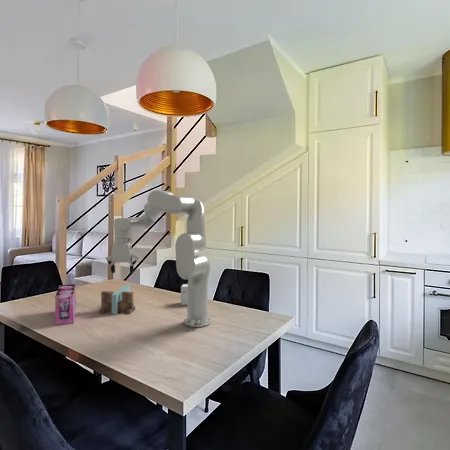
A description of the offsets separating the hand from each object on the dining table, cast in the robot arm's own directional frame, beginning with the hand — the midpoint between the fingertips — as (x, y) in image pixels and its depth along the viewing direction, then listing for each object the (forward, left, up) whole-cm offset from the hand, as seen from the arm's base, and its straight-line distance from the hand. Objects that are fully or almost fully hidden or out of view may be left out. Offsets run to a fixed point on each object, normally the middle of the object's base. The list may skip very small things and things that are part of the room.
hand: (122, 272), depth 173 cm
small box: (+8, -35, -19) cm, 40 cm away
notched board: (-1, 0, -19) cm, 19 cm away
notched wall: (-7, 0, -19) cm, 20 cm away
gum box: (-16, +22, -19) cm, 33 cm away
